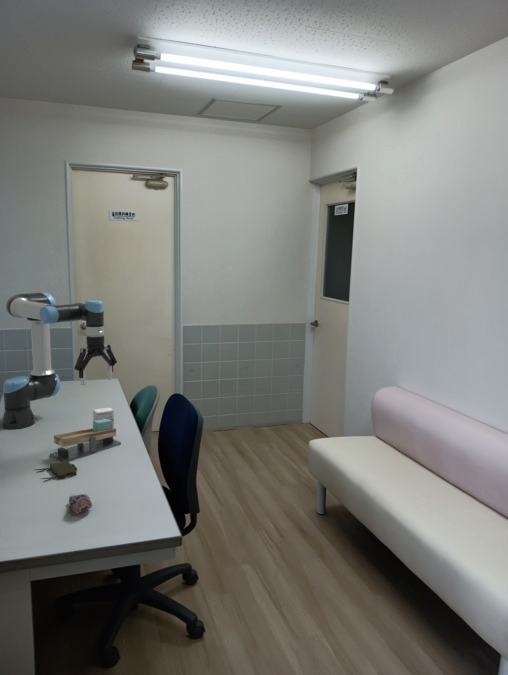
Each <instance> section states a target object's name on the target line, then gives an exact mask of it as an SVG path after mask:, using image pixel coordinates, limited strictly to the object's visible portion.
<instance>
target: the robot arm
mask: <svg viewBox="0 0 508 675" xmlns="http://www.w3.org/2000/svg"><path fill="white" fill-rule="evenodd" d="M56 302H57V301H56V300H55V298H54V296H52V294H50V293H49V292H32V293H31V292H29V293H19V294H14V295H12V296H10V297H9V299H8V300H7V302H6V305H5V309H6V312H7V313H8V314H9V315H10V316H12V317H14V318H16V319H17V318H18V319H21V318H26V320H27V321H28V323H29V324H30V334H31V351H32V352H31V353H32V368H33V369H32V370H31V372H30V373H29V375H30V376H28V375H27V376H26V375H19V376H13V377H10V378H8V379H6V380H5V381H4V382H3V387H2V392H3V393H2V394H3V402H4V403H3V404H4V412H3V415H2V419H1V427H2V428H4V429H8V430H9V429H10V430H16V429H22V428H27V427H30V426H33V425H34V424H35V423H36V417H35V415H34V413H33V411H32V407H31V402H32V401H37V400H42V399H48V398H51V397H54V396H56V395H57V394H58V393H59V391H60V389H61V380H60V378H59V375H58V374H56V372H55V370H54V369H53V368H52V356H51V355H52V352H51V336H50V335H51V333H50V324H57V323H65V322H66V323H68V322H77V321H82V322H83V321H84V322H85V330H86V331H85V334H86V345H87V346H86V347H80V352H79V355H78V357H77V360H76V362H75V364H74V365H75V366H74V371H78V378H79V379H80V385H81V386H84V387H85V386H86V385H87V381H86V380H87V379H86V378H87V377H86V370H85V369H86V367H87V366H88V364H89V363H90V361H91V359H93V358H95V357H100V356H101V357H102V359H103V360H104V361H105V362H106V363H107V364H106V373H107V375H106V377H107V380H109V381H112V380H113V373H114V366H115V364H117V363H118V361H117V359H116V357H115V354H114V353H113V351H112V348H111V345H110V344H107V343H105V336H104V335H105V327H104V326H105V325H104V324H105V323H104V321H105V318H104V314H105V313H104V311H105V310H104V302H103V301H102V300H99V299H98V300H96V299H94V300H93V299H91V300H86V301H85V303H82V302H74V303H70V304H57V303H56ZM105 351H106V352H105ZM106 353H107V354H106Z"/></svg>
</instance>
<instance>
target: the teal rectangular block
mask: <svg viewBox="0 0 508 675" xmlns="http://www.w3.org/2000/svg"><path fill="white" fill-rule="evenodd" d="M92 428H93V432H94V433H95V432H100V431H105V430H110V429H112V420H109V419H102V420H96V421H94V420H93V421H92Z"/></svg>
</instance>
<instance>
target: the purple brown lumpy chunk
mask: <svg viewBox="0 0 508 675" xmlns="http://www.w3.org/2000/svg"><path fill="white" fill-rule="evenodd" d="M92 507H93V502H92V500H91V499H90V496H89V495H88V494H86V493H82V494H81V493H80V494H74V495H73V494H72V495H70V496H69V498H68V507H67V510H68V512H69V514H71V515H78V514H80V513H81V512H82V511H84V510H89V509H91V508H92Z"/></svg>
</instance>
